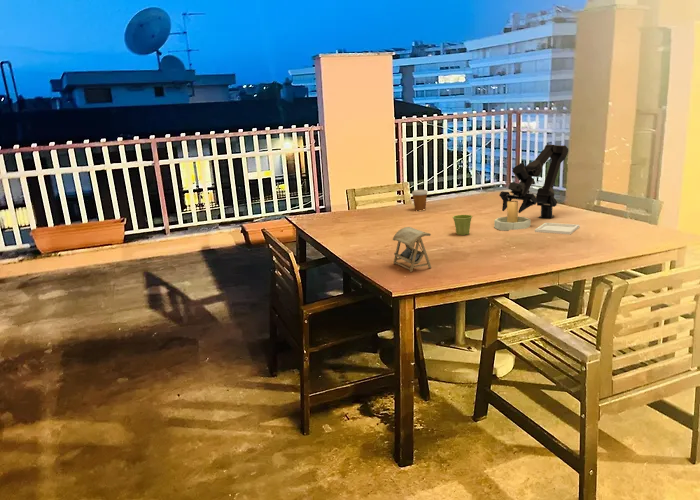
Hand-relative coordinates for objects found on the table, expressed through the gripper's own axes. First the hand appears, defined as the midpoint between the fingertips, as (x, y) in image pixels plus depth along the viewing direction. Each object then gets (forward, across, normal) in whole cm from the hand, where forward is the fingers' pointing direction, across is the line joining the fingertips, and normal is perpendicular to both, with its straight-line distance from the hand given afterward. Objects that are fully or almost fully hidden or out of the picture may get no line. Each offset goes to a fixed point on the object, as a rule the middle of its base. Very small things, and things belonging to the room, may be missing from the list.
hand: (510, 211), depth 266 cm
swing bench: (+61, +9, -49) cm, 79 cm away
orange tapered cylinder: (+4, 0, +6) cm, 7 cm away
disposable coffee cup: (-2, -73, +14) cm, 75 cm away
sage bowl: (+5, 0, +7) cm, 8 cm away
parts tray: (+2, +22, +10) cm, 24 cm away
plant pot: (+22, -11, -10) cm, 27 cm away
